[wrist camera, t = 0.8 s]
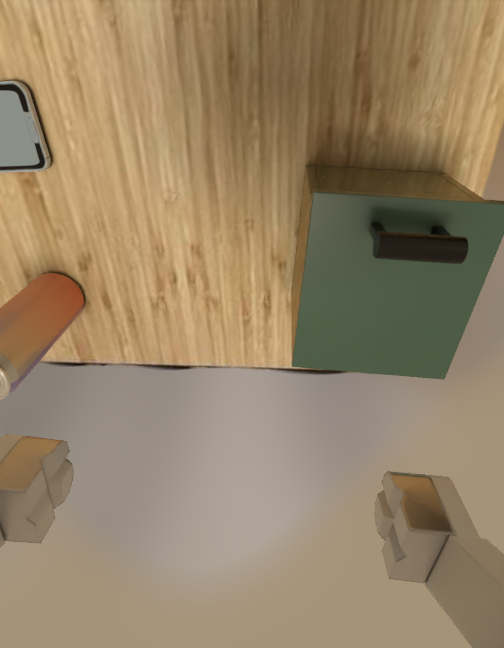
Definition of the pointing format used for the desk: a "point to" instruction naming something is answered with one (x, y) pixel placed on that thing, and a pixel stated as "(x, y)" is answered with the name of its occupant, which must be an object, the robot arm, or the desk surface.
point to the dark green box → (364, 182)
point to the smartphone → (20, 131)
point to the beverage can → (34, 325)
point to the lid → (391, 280)
